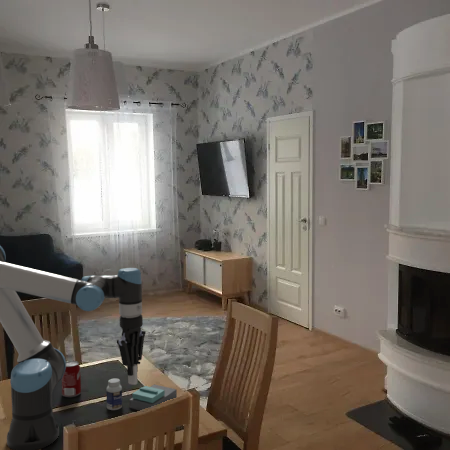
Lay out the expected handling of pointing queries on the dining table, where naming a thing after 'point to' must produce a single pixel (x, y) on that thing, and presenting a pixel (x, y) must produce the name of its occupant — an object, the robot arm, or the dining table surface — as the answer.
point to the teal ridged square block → (148, 394)
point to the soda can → (71, 379)
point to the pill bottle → (114, 394)
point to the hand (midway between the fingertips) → (132, 383)
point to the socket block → (169, 394)
